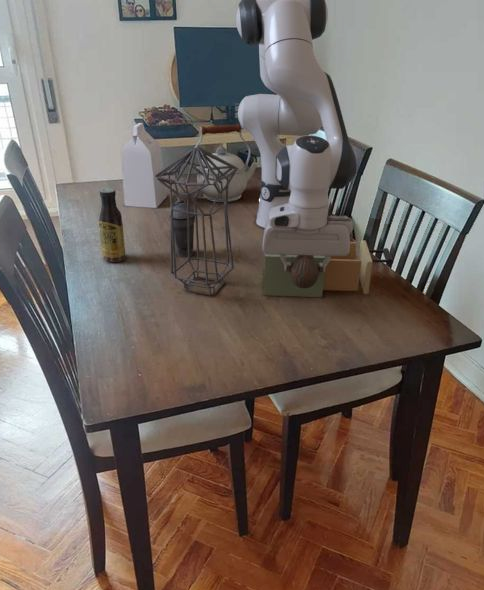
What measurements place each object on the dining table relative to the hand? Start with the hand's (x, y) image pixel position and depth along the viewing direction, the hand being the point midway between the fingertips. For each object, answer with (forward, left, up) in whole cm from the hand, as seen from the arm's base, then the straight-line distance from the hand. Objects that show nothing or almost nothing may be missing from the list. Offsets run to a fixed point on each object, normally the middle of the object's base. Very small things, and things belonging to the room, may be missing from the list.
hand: (304, 270), depth 130 cm
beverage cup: (+3, -44, -10) cm, 45 cm away
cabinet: (-7, -10, -10) cm, 16 cm away
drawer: (-18, +1, -9) cm, 20 cm away
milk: (-14, -90, -10) cm, 92 cm away
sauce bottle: (+20, -54, -10) cm, 58 cm away
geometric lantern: (+12, -24, -10) cm, 29 cm away
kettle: (-40, -76, -10) cm, 87 cm away
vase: (0, 0, -4) cm, 4 cm away
